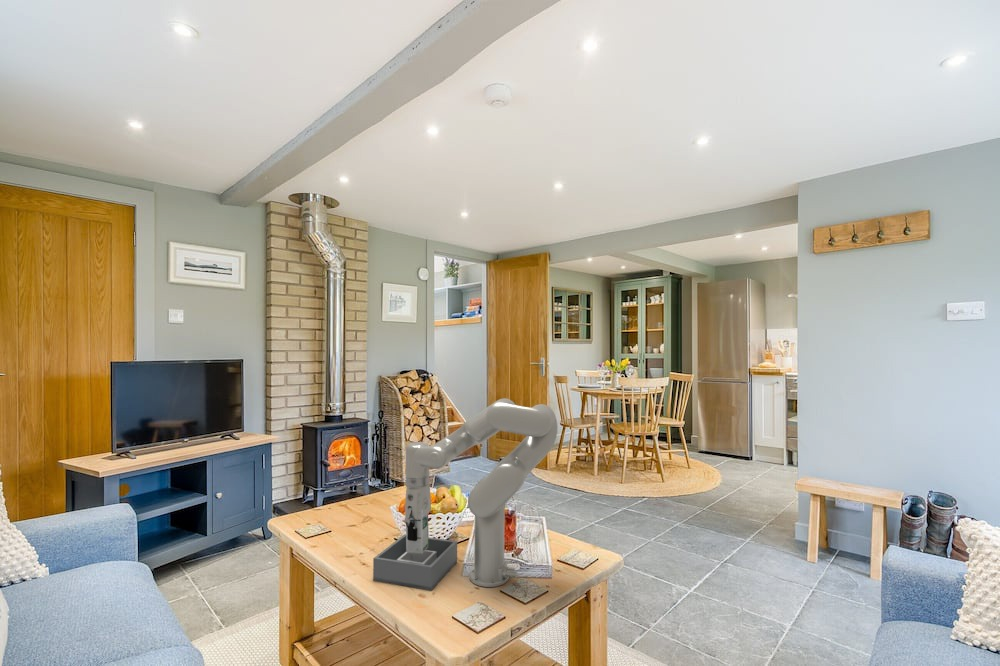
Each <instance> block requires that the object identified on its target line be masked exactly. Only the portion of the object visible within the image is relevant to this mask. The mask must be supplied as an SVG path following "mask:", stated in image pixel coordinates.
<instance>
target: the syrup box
mask: <svg viewBox="0 0 1000 666" xmlns="http://www.w3.org/2000/svg"><path fill="white" fill-rule="evenodd" d="M411 518H414V517H413V516H411ZM411 522H412V523H413V524H414V520H411ZM416 528H417V541H410V540H408V528H407V526H406V525H405V534H406V552H407V553H415V554H423V552H424V551H425V550H426V549H427V548H428V547H429V539H428V537H429V513H428V514H426V515H425V516H424V515H423V511H422V518H421V519H420V520H417V525H416Z"/></svg>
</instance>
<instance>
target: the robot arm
mask: <svg viewBox="0 0 1000 666" xmlns="http://www.w3.org/2000/svg"><path fill="white" fill-rule="evenodd" d="M500 431H502V432H506V433H511V434H517V435H521V436H525V437H524V438H523V439H522V441H521V442H519V443H518V445H517V446H515V448H514V449H513V450H511V451H510V453H508V454H507V455H506V456H505V457H503V458H502V459H501V460H500V461H499V462H498V463H497V465H495V467H494V468H493V469H492V470H491V471H490V472H489V473H488V474H487V475H486V476H484V477H483V478H481V479H480V480H479V481H477V483H476V484H475V485H474V487H473V489H472V490H471V491H470V493H469V495H468V498H467V505H468V508H469V511H470V512H471V514H472V515H473V516H474V568H473V569H471V570H470V572H469V580H470V581H471V583H473V584H474V585H475V586H479V587H484V588H493V587H494V588H496V587H500V586H502V585H504V584H506V583H507V582H508V581H509V579H510V578H513V579H517V578H518V577H517V576H518V571H517V570H516V568H515V567H510V566H508V561H505V528H506V527H505V520H506V519H505V518H506V517H505V514H506V503H508V501H510V500H511V498H513V496H515V494H517V493H518V491H520V489H521V487H523V485H524V483H525V481H526V479H527V477H528V475H530V473H531V472H532V471H533V470H534V469H535V468H536V467H537V466H538V465H539V463H541V462H542V461H543V459H544V458H545V457H546V456H547V455H548V454H549V453H550V451H551V450H552V448H553V446H554V444H555V442H556V439H557V435H558V431H559V430H558V421H557V416H556V414H555V412H554V410H553V409H552V408H551V407H550V406H549V405H547V404H544V403H540V404H536V405H534V406H532V407H530V406H523V405H518V404H515V402H514V401H513V400H511V399H509V398H504V397H503V398H499V399H498V400H496V401H494V402H492V403H491V404H490V405H488V406H487V407H485V408H484V409H482V411H479V412H478V413H477V414H475V415H474V416H471V417H470V418H469V419H468V420H466V421H465V422H464V424H462V425H461V426H460V427H459V428H457V429H456V430H454V431H453V432H451V433H450V434H449V435H447V436H445V437H444V438H443V439H441V440H439V441H437V442H436V443H434V444H432V445H429V444H428V443H426V442H424V441H413V442H410V443H408V444H406V447H405V487H406V490H405V500H404V520H403V523H404V524H405V527H406V526H407V528H408V540H410V541H417V528H416V525H417V520H420V519H421V518H422V511H423V515H424V516H425V515H426V514H428V515H429V513H431V510H432V501H431V500H432V499H431V498H432V497H431V487H430V469H434V470H440V469H442V468H444V467H446V466H447V464H449V463H450V462H451V461H453V460H454V459H455V458H457V457H458V456H460V455H461V454H462V453H464V452H466V451H468V450H469V449H470V448H472V447H474V446H477V445H478V446H479V445H480V444H482V443H484V442H485V441H487V440H488V439H490V438H491V437H493V436H495V435H496V434H497V433H499V432H500ZM411 516H413V517H414V518H411ZM411 520H414V524H413V523H412V522H411Z"/></svg>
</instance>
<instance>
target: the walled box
mask: <svg viewBox="0 0 1000 666" xmlns="http://www.w3.org/2000/svg"><path fill="white" fill-rule="evenodd" d="M428 539H429V547H428V548H427V549H426V550H425V551H424V552H423V554H415V553H407V552H406V533H404V534H403V535H401V537H399V538H398V539H397V540H395V541H394V542H393V543H391V544H390V545H388V546H387V547H386V548H385V549H384V550H382V551H380V553H378V554H377V555H376V556H375V557H373V560H372V561H373V562H372V563H373V564H372V565H373V566H372V567H373V568H372V571H373V572H372V578H373V579H372V581H373V582H379V583H385V584H389V585H390V584H391V585H396V586H400V587H401V586H402V587H407V588H412V589H419V590H423V591H429V592H431V591H432V590H434V589H435V587H437V585H438V584H439V583H440V582H441V581H442V580H443V578H445V576H446V575H447V574H448V573H449V572H450V571H451V570H452V568H453V567H455V566H456V564H457V563H458V541H457V540H450V539H442V538H437V537H436V538H435V537H429V536H428Z"/></svg>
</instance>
